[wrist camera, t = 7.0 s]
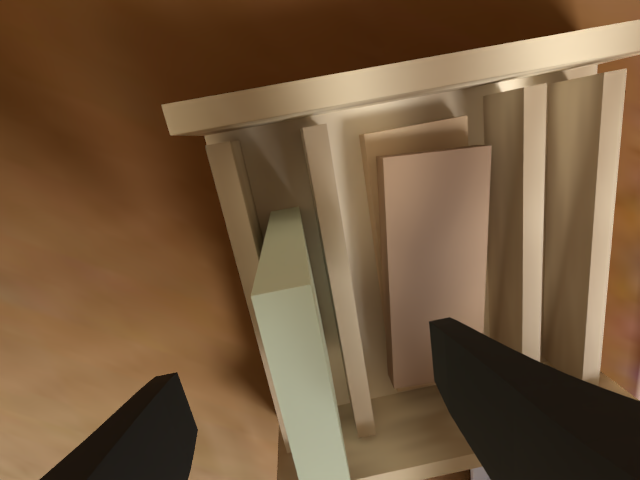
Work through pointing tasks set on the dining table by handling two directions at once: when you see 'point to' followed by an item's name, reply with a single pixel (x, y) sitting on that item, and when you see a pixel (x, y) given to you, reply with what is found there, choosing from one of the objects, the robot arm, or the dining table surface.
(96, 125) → the dining table surface
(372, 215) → the offcut lower
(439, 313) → the offcut upper
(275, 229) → the panel
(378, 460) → the rack
